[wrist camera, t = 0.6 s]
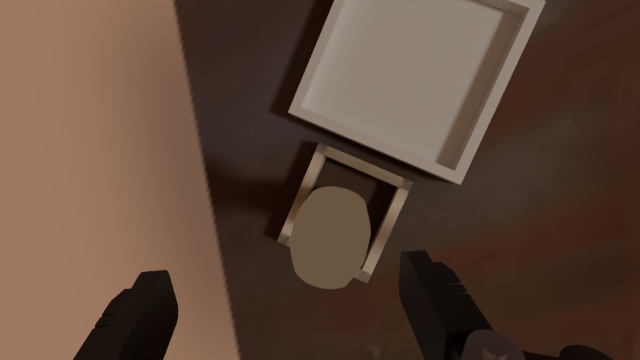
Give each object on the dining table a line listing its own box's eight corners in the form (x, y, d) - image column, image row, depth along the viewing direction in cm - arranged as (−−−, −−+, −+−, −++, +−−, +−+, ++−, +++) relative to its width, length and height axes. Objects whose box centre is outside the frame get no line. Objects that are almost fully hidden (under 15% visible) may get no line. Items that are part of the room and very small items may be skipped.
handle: (315, 234, 37) (281, 277, 22) (328, 175, 36) (303, 179, 22) (360, 245, 36) (356, 297, 21) (373, 185, 36) (379, 196, 21)
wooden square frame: (321, 143, 36) (319, 142, 34) (410, 181, 35) (413, 182, 33) (281, 237, 37) (277, 241, 35) (367, 277, 36) (367, 283, 34)
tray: (361, -47, 35) (360, -64, 33) (532, 13, 33) (545, 1, 31) (293, 116, 37) (287, 112, 34) (453, 183, 35) (460, 184, 32)
